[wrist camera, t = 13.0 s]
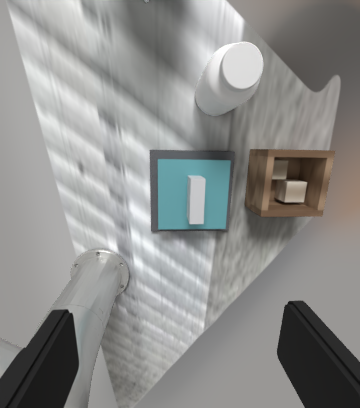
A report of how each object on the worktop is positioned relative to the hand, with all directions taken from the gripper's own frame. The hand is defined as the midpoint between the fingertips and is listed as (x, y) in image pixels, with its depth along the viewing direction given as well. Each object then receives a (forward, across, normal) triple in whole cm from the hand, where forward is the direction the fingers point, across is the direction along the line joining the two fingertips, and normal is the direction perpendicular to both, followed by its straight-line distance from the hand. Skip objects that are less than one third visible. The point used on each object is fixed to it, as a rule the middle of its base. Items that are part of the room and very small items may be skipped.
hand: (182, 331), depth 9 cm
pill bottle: (+36, -9, -18) cm, 42 cm away
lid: (+36, -5, +1) cm, 36 cm away
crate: (+36, -23, -2) cm, 43 cm away
